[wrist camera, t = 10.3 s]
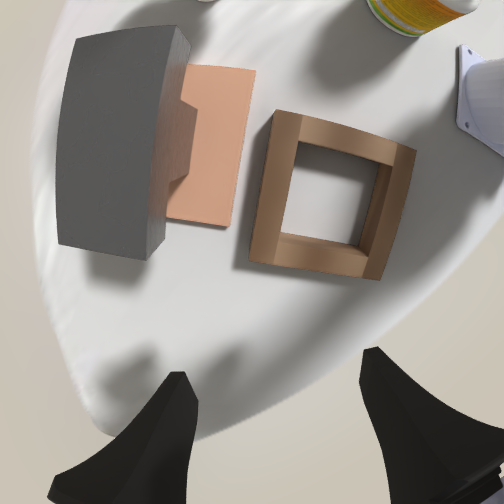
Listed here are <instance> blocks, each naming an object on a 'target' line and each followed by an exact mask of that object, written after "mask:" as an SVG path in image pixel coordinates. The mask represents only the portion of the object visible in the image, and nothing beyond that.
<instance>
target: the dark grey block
mask: <svg viewBox="0 0 504 504" xmlns="http://www.w3.org/2000/svg"><path fill="white" fill-rule="evenodd" d="M190 49H191V45H190V44H189V42H188V41H187V39H186V38H185V36H184V35H183V34H182V32H181V31H180V29H179V28H178V27H177V25H168V26H152V27H141V28H132V29H125V30H118V31H112V32H106V33H101V34H96V35H91V36H86V37H82V38H78V39H76V41H75V45H74V48H73V52H72V56H71V60H70V64H69V68H68V72H67V77H66V82H65V87H64V92H63V98H62V105H61V112H60V119H59V128H58V138H57V152H56V219H57V233H58V243H59V244H60V245H65V246H70V247H75V248H80V249H86V250H91V251H96V252H101V253H107V254H112V255H117V256H123V257H128V258H134V259H140V260H145V261H147V259H148V258H149V257H150V256H151V255H152V253H153V252H154V251H155V250H156V249H157V248H158V246H159V245H160V244H161V243H162V242H163V241H164V239H165V229H166V214H167V200H168V189H169V182H171V181H173V180H175V179H178V178H180V177H182V176H184V175H186V174H188V173H189V169H190V161H191V154H192V146H193V139H194V132H195V126H196V120H197V113H198V109H196V108H194V107H193V106H191V105H189V104H188V103H186V102H184V101H182V100H181V99H180V98H181V93H182V87H183V82H184V77H185V72H186V67H187V63H188V58H189V54H190Z"/></svg>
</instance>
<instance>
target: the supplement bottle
mask: <svg viewBox="0 0 504 504" xmlns="http://www.w3.org/2000/svg"><path fill="white" fill-rule="evenodd" d="M367 3H368V5H369V7H370V9H371V11H372V12H373V14H374V15H375V16H376V17H377V18H378V20H379V21H381V22H382V23H383V24H384V25H385V26H387V27H388V28H390V29H391V30H393V31H395V32H397V33H399V34H401V35H404V36H409V37H418V36H421V35H423V34H426V33H428V32H430V31H431V30H433V29H435V28H437V27H439V26H441V25H444V24H446V23H448V22H450V21H452V20H454V19H456V18H459V17H461V16H464V15H466V14H468V13H471V12H473V11H475V10H476V9H477V8H478V7H479V4H480V0H367Z"/></svg>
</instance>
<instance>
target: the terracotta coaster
mask: <svg viewBox="0 0 504 504" xmlns="http://www.w3.org/2000/svg"><path fill="white" fill-rule="evenodd" d="M255 75H256V70H249V69H241V68H232V67H222V66H210V65H192V64H187V67H186V72H185V77H184V82H183V87H182V93H181V98H180V99H181V100H182V101H184V102H186V103H188V104H189V105H191V106H193V107H194V108H196V109H198V113H197V120H196V126H195V132H194V139H193V146H192V154H191V161H190V169H189V173H188V174H186V175H184V176H182V177H180V178H178V179H175V180H173V181H171V182H169V189H168V200H167V214H166V217H169V218H175V219H182V220H189V221H196V222H202V223H209V224H215V225H222V226H228V227H230V223H231V216H232V209H233V203H234V196H235V190H236V184H237V178H238V171H239V165H240V159H241V153H242V147H243V142H244V136H245V130H246V124H247V119H248V113H249V108H250V102H251V97H252V91H253V86H254V81H255Z"/></svg>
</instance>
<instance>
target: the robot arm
mask: <svg viewBox="0 0 504 504" xmlns="http://www.w3.org/2000/svg"><path fill="white" fill-rule="evenodd" d="M468 52H469V53H468ZM459 56H460V72H459V96H458V109H457V119H456V123H457V125H458V127H459V128H460V129H462V130H464V131H465V132H467V133H469V134H470V135H472V136H473V137H475V138H477V139H478V140H480V141H481V142H483V143H484V144H486V145H487V146H489V147H490V148H492V149H493V150H494V151H496V152H497V153H499V154H500V155H501V156H503V157H504V58H501V59H495V60H489V61H486V60H485V59H484V58H482V57H481V56H480V55H478V54H477V53H476V52H475V51H473V50H472V49H470V48H469V47H468V46H466V45H465V44H461V45H459ZM465 123H466V126H465ZM359 384H360V389H361V392H362V396H363V400H364V404H365V406H366V409H367V411H368V414H369V417H370V419H371V422H372V424H373V427H374V430H375V432H376V435H377V438H378V441H379V443H380V446H381V449H382V453H383V458H384V463H385V467H386V472H387V477H388V484H389V492H390V500H391V504H504V476H503V477H502V478H500V477H499V474H500V473H501V468H500V465H501V464H502V463H503V462H504V429H502V428H498V427H494V426H491V425H488V424H485V423H483V422H480V421H477V420H475V419H473V418H471V417H468V416H467V415H464V414H462V413H460V412H458V411H456V410H455V409H453V408H451V407H450V406H448V405H446V404H445V403H443V402H442V401H440V400H439V399H437V398H436V397H434V396H433V395H432V394H430V393H429V392H428V391H426V390H425V389H424V388H423V387H421V386H420V385H419V384H418V383H417V382H415V381H414V380H413V379H412V378H411V377H410V376H409V375H407V374H406V373H405V372H404V371H403V370H402V369H401V368H400V367H399V366H398V365H397V364H395V363H394V362H393V361H392V360H391V359H390V358H389V357H388V356H387V355H386V354H385V353H384V352H383V351H382V350H381V349H380V348H379V347H378V346H377V347H373V348H369V349H364V351H363V358H362V365H361V372H360V378H359ZM197 417H198V399H197V397H196V395H195V393H194V391H193V389H192V387H191V384H190V382H189V380H188V378H187V376H186V374H185V371H184V372H170V373H169V375H168V376H167V377H166V379H165V380H164V381H163V383H162V384H161V385H160V387H159V388H158V390H157V391H156V392H155V394H154V395H153V396H152V398H151V399H150V400H149V401H148V403H147V404H146V405H145V406H144V408H143V409H142V410H141V411H140V413H139V414H138V415H137V416H136V417H135V418H134V419H133V420H132V422H131V423H130V424H129V425H128V426H127V427H126V428H125V429H124V430H123V431H122V432H121V433H120V434H119V435H118V436H117V437H116V438H115V439H114V440H113V441H111V442H110V443H109V444H108V445H107V446H105V447H104V448H103V449H102V450H100V451H99V452H97V453H96V454H95V455H93V456H92V457H90V458H89V459H87V460H86V461H84V462H82V463H80V464H79V465H77V466H75V467H73V468H71V469H69V470H67V471H65V472H63V473H60V474H58V475H56V476H55V477H54V480H53V482H52V485H51V488H50V490H49V493H48V496H47V498H48V499H49V500H50V501H52V502H53V503H55V504H186V488H187V472H188V465H189V460H190V455H191V450H192V445H193V440H194V435H195V430H196V425H197Z"/></svg>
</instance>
